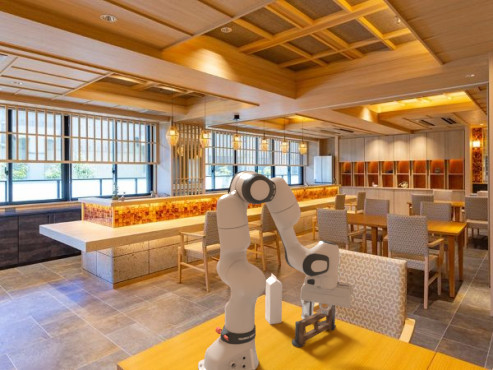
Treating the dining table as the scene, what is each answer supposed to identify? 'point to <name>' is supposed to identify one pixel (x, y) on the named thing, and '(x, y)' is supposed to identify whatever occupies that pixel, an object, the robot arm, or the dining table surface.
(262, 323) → the dining table surface
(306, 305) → the beer glass
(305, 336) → the gate
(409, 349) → the dining table surface
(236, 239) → the robot arm
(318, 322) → the hinge post
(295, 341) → the post
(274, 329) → the dining table surface
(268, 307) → the milk
